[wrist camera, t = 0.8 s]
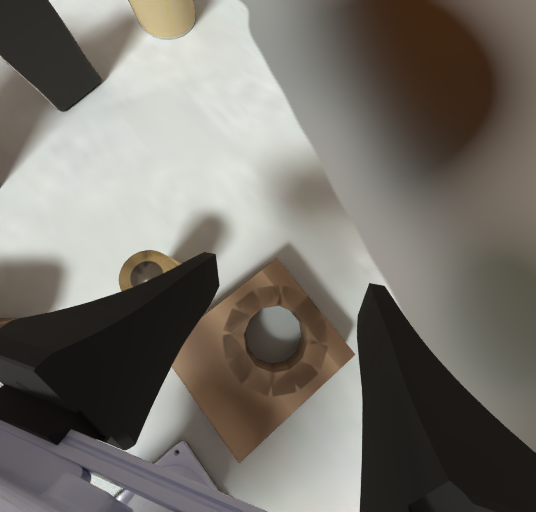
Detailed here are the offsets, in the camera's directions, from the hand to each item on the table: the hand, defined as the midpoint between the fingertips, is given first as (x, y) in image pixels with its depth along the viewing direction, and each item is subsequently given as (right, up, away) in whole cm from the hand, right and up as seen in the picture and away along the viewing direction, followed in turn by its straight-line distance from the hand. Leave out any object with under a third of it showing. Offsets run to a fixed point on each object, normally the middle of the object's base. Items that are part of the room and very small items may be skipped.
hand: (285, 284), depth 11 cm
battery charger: (-25, +22, +19) cm, 39 cm away
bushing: (-11, -2, +15) cm, 18 cm away
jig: (-2, -8, +14) cm, 16 cm away
